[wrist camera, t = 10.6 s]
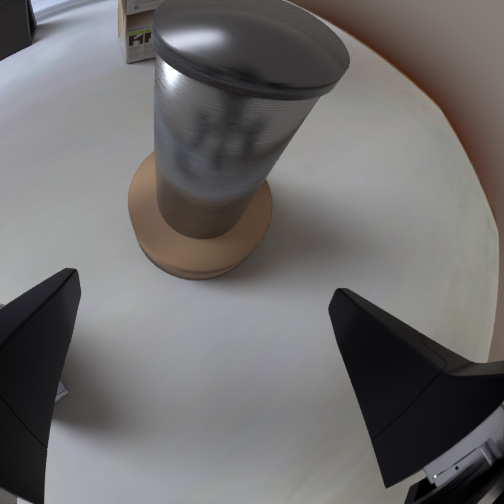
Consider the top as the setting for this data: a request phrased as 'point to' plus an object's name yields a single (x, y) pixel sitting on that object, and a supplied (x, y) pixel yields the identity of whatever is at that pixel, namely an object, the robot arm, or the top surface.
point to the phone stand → (15, 26)
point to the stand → (185, 248)
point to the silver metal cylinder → (231, 101)
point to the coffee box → (136, 28)
